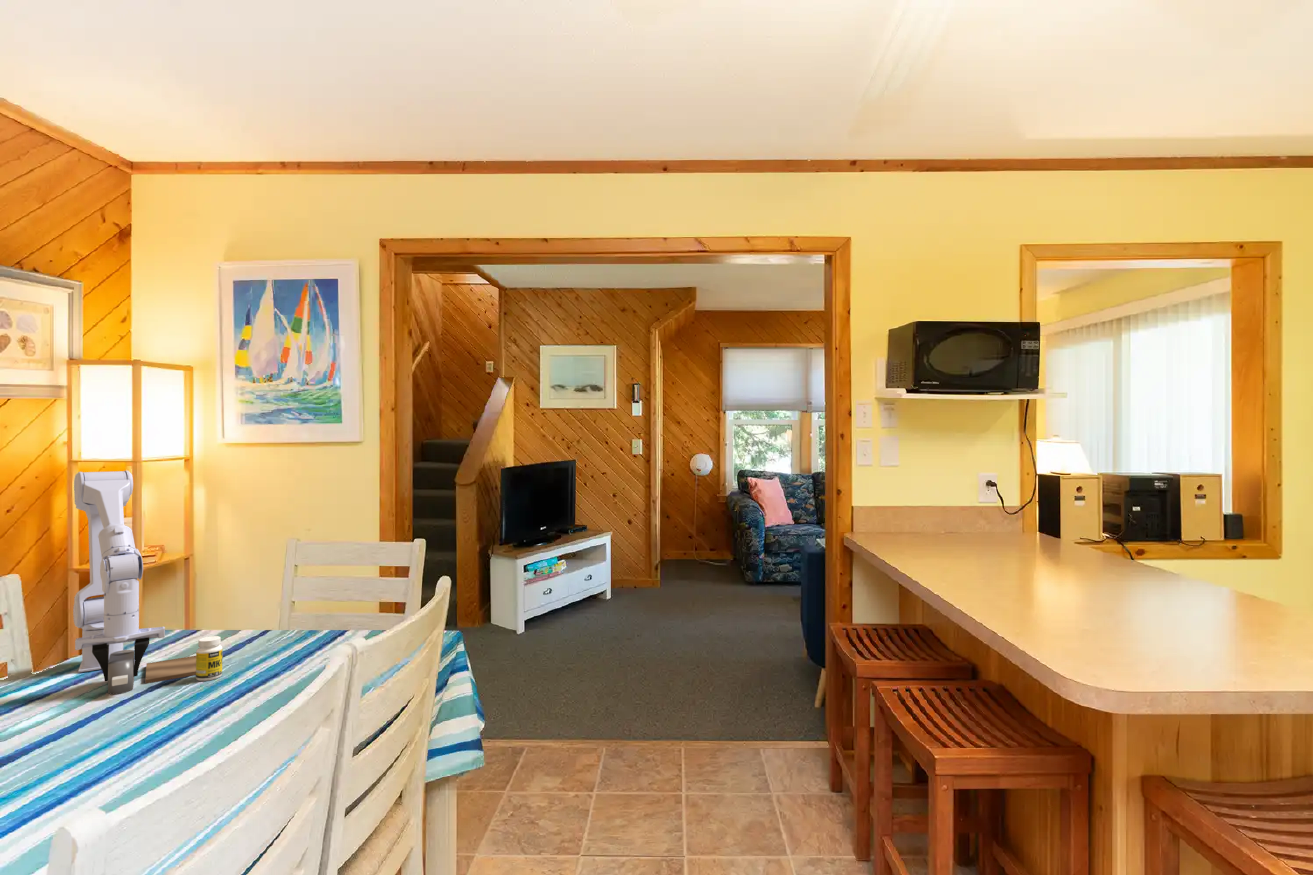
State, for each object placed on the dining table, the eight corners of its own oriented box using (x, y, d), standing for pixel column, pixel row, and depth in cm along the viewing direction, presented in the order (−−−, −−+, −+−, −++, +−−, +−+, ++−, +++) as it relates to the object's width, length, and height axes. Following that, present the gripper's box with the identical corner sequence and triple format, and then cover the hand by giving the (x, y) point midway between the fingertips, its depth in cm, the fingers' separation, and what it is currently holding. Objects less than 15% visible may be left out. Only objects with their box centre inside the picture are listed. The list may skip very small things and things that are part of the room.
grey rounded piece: (110, 680, 143) (110, 652, 143) (134, 676, 145) (134, 648, 145) (106, 699, 132) (106, 668, 132) (132, 694, 135) (132, 664, 135)
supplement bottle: (209, 682, 142) (209, 642, 142) (190, 680, 143) (190, 641, 143) (227, 674, 146) (227, 635, 146) (209, 672, 147) (209, 634, 147)
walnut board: (146, 666, 151) (146, 663, 151) (210, 656, 158) (210, 653, 158) (145, 683, 141) (145, 679, 141) (213, 671, 148) (213, 668, 148)
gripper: (73, 621, 132) (73, 690, 132) (164, 610, 141) (164, 675, 141) (77, 614, 138) (77, 680, 138) (164, 604, 146) (164, 666, 146)
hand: (121, 677), depth 140 cm, fingers closed on grey rounded piece, 4 cm apart
